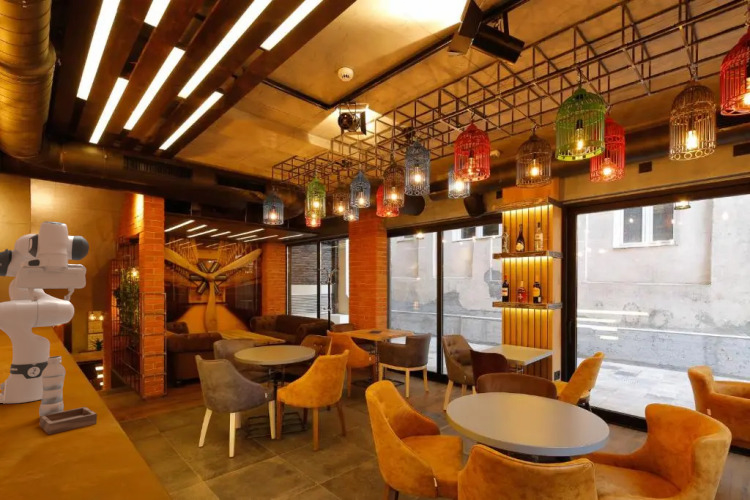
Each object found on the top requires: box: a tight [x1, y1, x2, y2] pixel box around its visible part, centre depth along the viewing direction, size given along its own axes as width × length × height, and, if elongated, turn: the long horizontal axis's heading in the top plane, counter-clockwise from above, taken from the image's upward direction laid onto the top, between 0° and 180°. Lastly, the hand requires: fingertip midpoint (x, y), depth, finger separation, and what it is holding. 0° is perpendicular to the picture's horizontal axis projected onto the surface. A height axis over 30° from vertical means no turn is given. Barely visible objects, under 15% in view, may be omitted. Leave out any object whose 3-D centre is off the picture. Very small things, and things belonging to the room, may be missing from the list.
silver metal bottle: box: [38, 355, 66, 417], centre depth 133 cm, size 6×7×20 cm
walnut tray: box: [39, 406, 98, 435], centre depth 125 cm, size 12×12×3 cm
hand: (51, 300), depth 142 cm, fingers open, 8 cm apart
